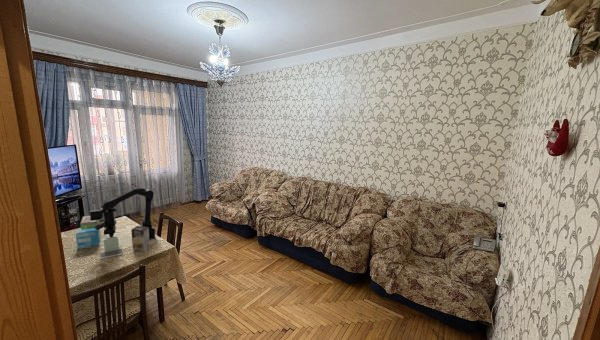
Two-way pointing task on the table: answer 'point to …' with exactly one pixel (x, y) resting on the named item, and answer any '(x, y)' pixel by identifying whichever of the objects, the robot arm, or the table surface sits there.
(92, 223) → the tea box
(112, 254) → the mat
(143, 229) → the coffee box
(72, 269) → the table surface
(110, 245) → the tile
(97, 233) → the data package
